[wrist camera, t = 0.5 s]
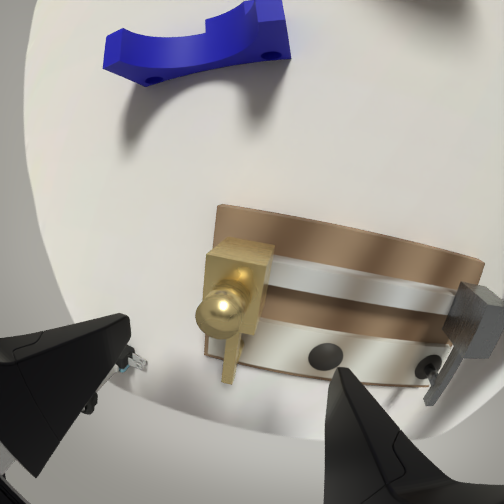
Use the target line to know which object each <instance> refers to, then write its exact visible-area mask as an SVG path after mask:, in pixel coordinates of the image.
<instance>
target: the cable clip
mask: <svg viewBox="0 0 504 504" xmlns="http://www.w3.org/2000/svg"><path fill="white" fill-rule="evenodd" d="M205 25H206V33H203V34H198V35H192V36H185V37H151V36H144V35H140V34H136V33H133V32H130V31H128V30H126V29H124V28H122V29H120V30H118V31H116V32H114V33H112V34H110V35H108V36H107V37H106V44H105V52H104V61H103V69H105V70H107V71H110V72H112V73H115V74H117V75H119V76H122V77H124V78H126V79H129V80H131V81H133V82H136V83H138V84H140V85H142V86H144V87H147V86H150V85H153V84H157V83H160V82H163V81H167V80H170V79H174V78H177V77H181V76H185V75H189V74H193V73H197V72H202V71H206V70H211V69H216V68H221V67H227V66H233V65H239V64H246V63H253V62H261V61H271V60H282V59H291V53H290V46H289V39H288V33H287V27H286V21H285V15H284V9H283V4H282V0H249V1H244V2H242V3H241V4H240V5H239V6H237V7H236V8H234V9H232V10H230V11H228V12H226V13H224V14H221V15H219V16H216V17H213V18H209V19H206V20H205Z"/></svg>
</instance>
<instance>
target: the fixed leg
mask: <svg viewBox="0 0 504 504" xmlns="http://www.w3.org/2000/svg"><path fill="white" fill-rule="evenodd" d="M503 329H504V301H503V300H502V299H500V298H499V297H498V296H497V295H496V294H494V293H493V292H492V291H490V290H489V289H488V288H487V287H485V286H481V285H476V284H471V283H467V282H462V281H460V284H459V287H458V290H457V293H456V295H455V298H454V301H453V303H452V306H451V308H450V311H449V313H448V315H447V318H446V320H445V322H444V325H443V327H442V330H443V331H444V333H445V334H446V335H447V337H448V338H449V340H450V341H451V342H452V344H453V345H454V347H453V349H452V351H451V353H450V355H449V357H448V358H447V360H446V362H445V364H444V366H443V367H442V369H441V371H440V373H439V374H438V372H437V371H436V369H435V367H434V365H433V364H432V363H430V364H428V365H426V366H425V368H424V372H425V374H426V376H427V378H428V380H429V382H430V384H431V387H430V389H429V390H428V392H427V393H426V395H425V396H424V398H423V399H424V402H425V404H426V406H433V405H434V404H435V403H436V401H437V400H438V398H439V397H440V395H441V394H442V392H443V391H444V389H445V388H446V386H447V385H448V383H449V382H450V380H451V378H452V377H453V375H454V374H455V372H456V370H457V368H458V367H459V365H460V363H461V362H462V360H463V358H489V356H490V355H491V353H492V351H493V349H494V347H495V345H496V343H497V341H498V339H499V337H500V335H501V333H502V331H503Z"/></svg>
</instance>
